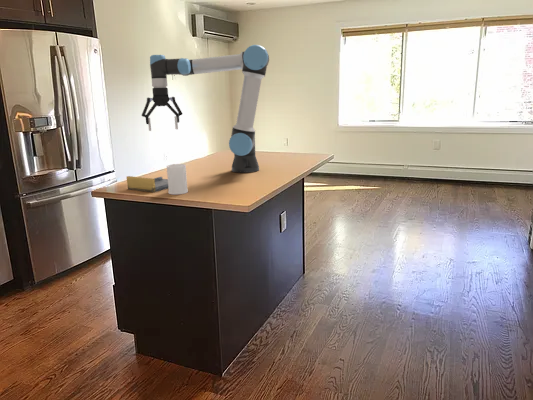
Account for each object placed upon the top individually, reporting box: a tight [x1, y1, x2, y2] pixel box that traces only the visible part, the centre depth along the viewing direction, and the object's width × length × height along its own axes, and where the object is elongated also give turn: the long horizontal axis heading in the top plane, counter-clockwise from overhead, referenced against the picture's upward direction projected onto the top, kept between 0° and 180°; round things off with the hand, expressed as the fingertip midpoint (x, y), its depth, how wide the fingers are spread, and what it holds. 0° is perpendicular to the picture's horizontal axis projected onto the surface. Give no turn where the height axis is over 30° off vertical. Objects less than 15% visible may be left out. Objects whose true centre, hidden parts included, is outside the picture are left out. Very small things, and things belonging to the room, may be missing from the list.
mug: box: [166, 163, 189, 196], centre depth 189 cm, size 12×8×12 cm
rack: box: [126, 175, 168, 193], centre depth 203 cm, size 16×22×6 cm
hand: (163, 130), depth 222 cm, fingers open, 13 cm apart
